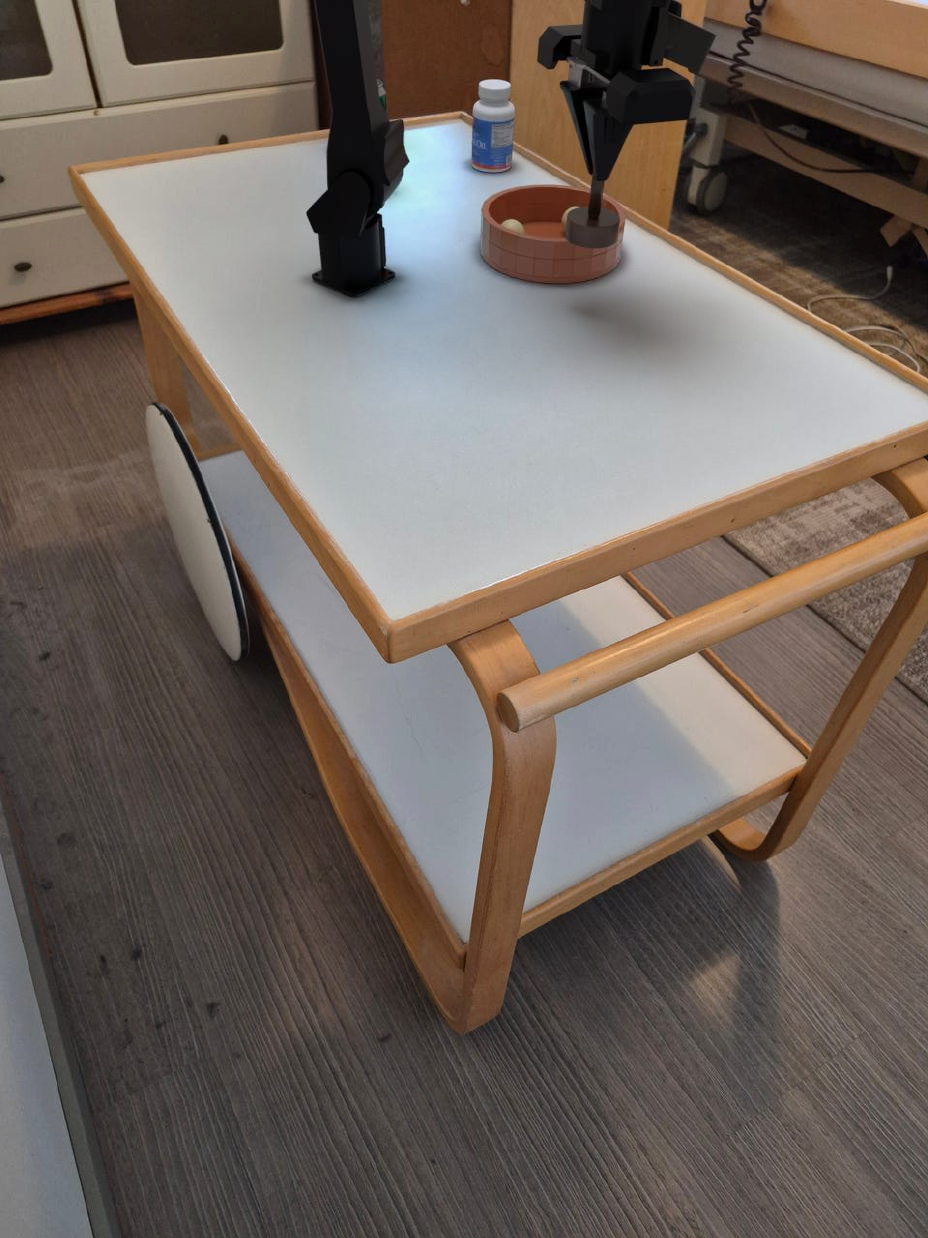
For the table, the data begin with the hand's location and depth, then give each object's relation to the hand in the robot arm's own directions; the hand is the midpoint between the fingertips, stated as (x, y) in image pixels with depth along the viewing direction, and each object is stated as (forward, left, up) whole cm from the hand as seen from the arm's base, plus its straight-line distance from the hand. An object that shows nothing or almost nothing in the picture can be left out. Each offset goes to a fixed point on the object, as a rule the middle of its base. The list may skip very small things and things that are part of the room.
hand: (597, 177), depth 83 cm
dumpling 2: (+13, +10, -11) cm, 20 cm away
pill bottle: (+25, +32, -13) cm, 43 cm away
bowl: (+9, +10, -13) cm, 19 cm away
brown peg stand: (0, 0, -6) cm, 6 cm away
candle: (+19, +50, -13) cm, 55 cm away
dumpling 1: (+6, +14, -11) cm, 18 cm away
